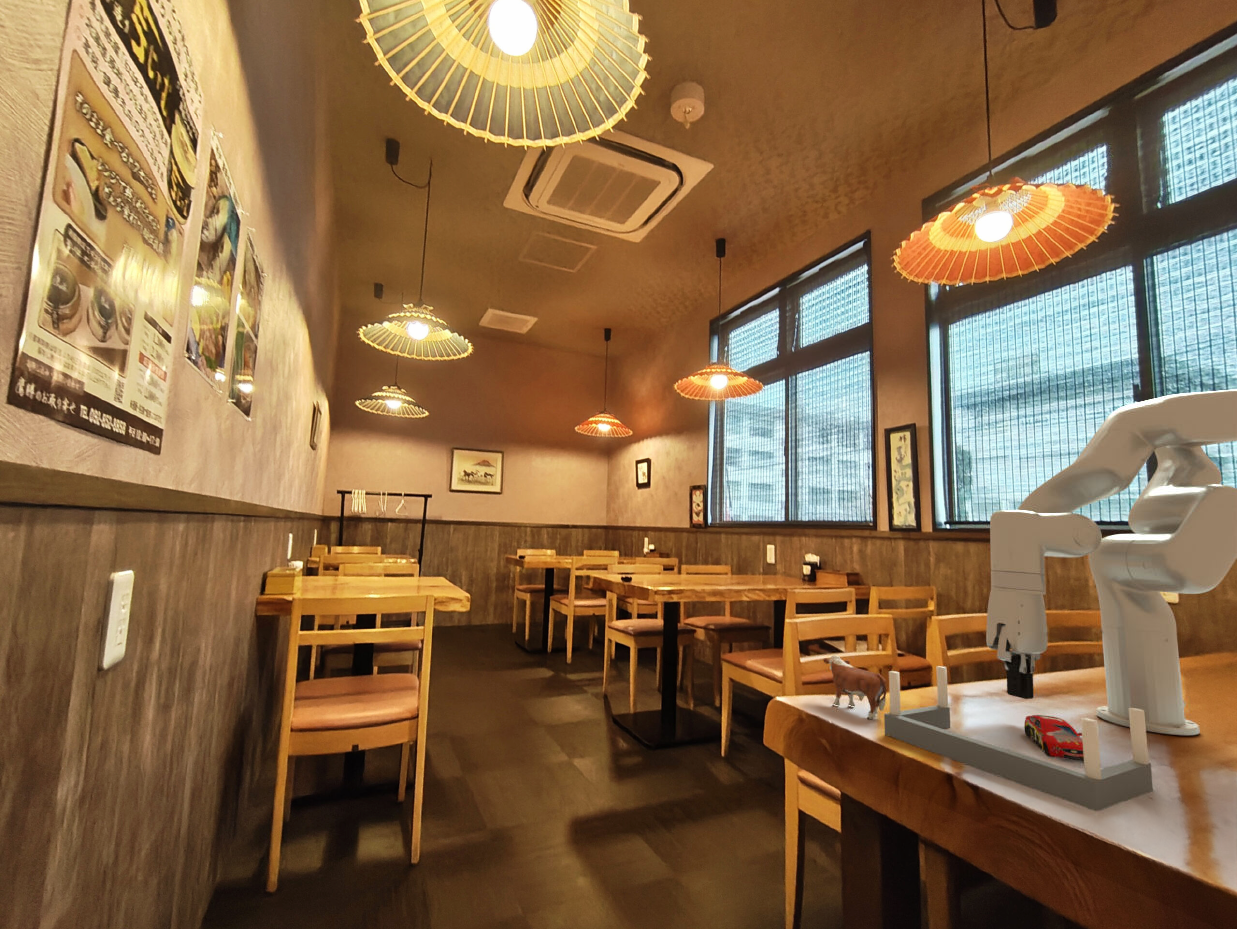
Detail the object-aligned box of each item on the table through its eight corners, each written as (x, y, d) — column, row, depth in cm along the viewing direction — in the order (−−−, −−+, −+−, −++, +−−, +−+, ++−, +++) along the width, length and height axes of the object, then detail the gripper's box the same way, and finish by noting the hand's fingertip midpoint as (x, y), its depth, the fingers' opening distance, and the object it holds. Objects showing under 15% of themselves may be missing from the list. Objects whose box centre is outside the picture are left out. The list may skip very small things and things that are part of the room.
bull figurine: (837, 698, 103) (836, 652, 104) (894, 721, 91) (892, 668, 92) (817, 699, 102) (816, 653, 103) (872, 723, 89) (871, 669, 90)
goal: (942, 724, 90) (939, 665, 91) (1153, 789, 67) (1146, 710, 68) (884, 734, 84) (883, 671, 85) (1096, 811, 61) (1090, 723, 62)
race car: (1099, 770, 74) (1097, 738, 74) (1049, 762, 76) (1047, 731, 76) (1063, 738, 86) (1061, 711, 86) (1021, 732, 88) (1019, 706, 88)
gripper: (1018, 583, 102) (1020, 688, 99) (968, 579, 95) (969, 692, 93) (1066, 587, 95) (1070, 700, 93) (1016, 584, 89) (1019, 705, 86)
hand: (1020, 696), depth 93 cm, fingers closed
